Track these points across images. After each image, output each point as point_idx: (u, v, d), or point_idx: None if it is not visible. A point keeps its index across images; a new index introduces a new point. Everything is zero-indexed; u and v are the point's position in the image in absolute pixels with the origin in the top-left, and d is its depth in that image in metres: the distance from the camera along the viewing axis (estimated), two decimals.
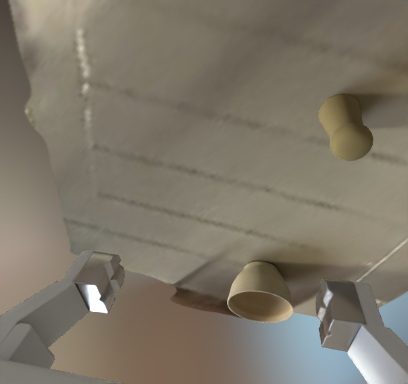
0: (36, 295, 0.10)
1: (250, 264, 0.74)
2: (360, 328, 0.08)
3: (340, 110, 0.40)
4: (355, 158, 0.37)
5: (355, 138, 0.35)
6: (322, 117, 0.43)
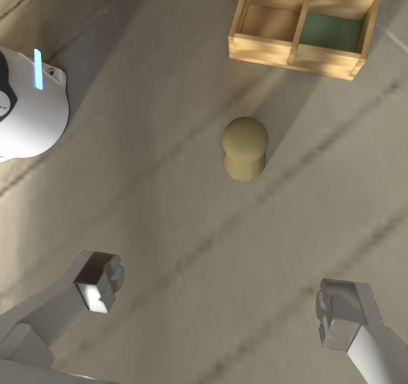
0: (36, 295, 0.10)
1: None
2: (360, 328, 0.08)
3: None
4: (261, 138, 0.30)
5: (232, 129, 0.30)
6: (232, 172, 0.38)
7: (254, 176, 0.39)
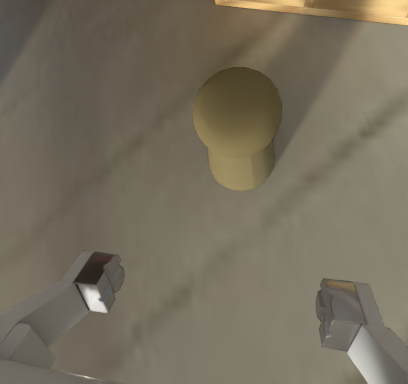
0: (36, 295, 0.10)
1: None
2: (360, 328, 0.08)
3: None
4: (268, 105, 0.14)
5: (210, 90, 0.15)
6: (221, 177, 0.23)
7: (257, 182, 0.24)
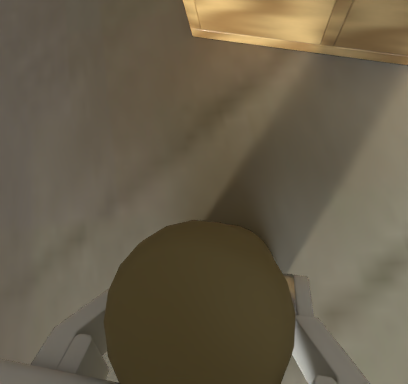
0: (90, 303, 0.09)
1: None
2: None
3: None
4: (263, 353, 0.06)
5: (133, 294, 0.07)
6: None
7: None
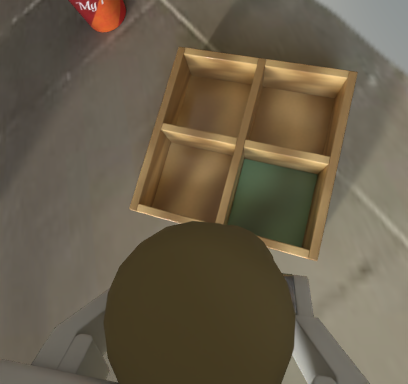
0: (91, 303, 0.09)
1: None
2: None
3: None
4: (263, 355, 0.06)
5: (133, 295, 0.07)
6: None
7: None
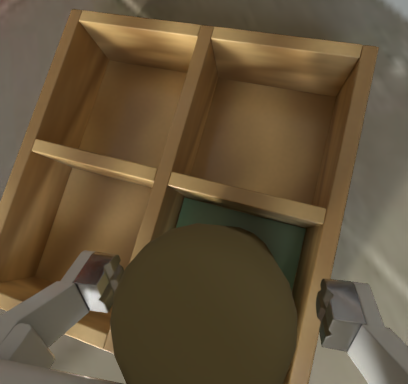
0: (36, 295, 0.10)
1: None
2: (360, 328, 0.08)
3: None
4: (266, 354, 0.06)
5: (140, 296, 0.07)
6: None
7: None
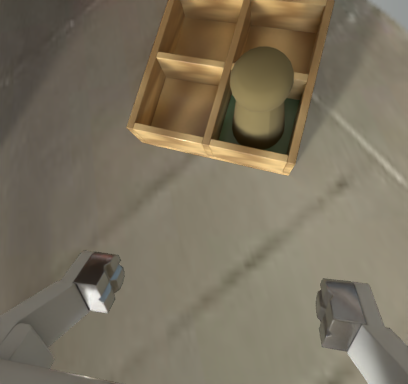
0: (36, 295, 0.10)
1: None
2: (360, 328, 0.08)
3: (235, 104, 0.28)
4: (284, 72, 0.21)
5: (244, 61, 0.22)
6: (244, 137, 0.30)
7: (271, 142, 0.30)
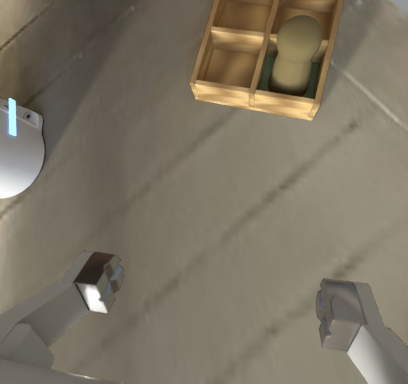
0: (36, 295, 0.10)
1: None
2: (360, 328, 0.08)
3: (274, 63, 0.38)
4: (317, 31, 0.31)
5: (289, 25, 0.31)
6: (279, 89, 0.39)
7: (299, 94, 0.40)
